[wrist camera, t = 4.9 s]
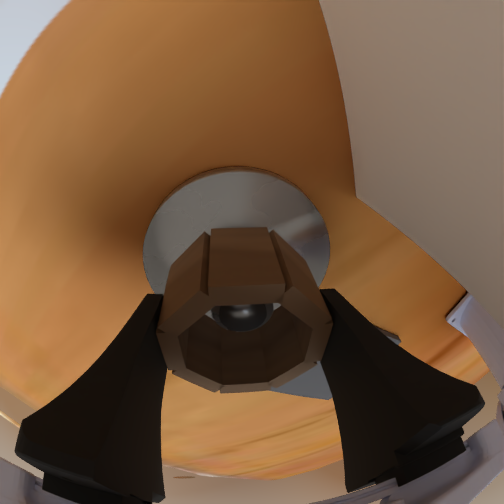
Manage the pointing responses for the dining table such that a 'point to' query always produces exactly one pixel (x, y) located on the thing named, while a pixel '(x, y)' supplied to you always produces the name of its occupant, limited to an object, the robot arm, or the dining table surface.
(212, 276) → the ring
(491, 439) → the robot arm
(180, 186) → the hub
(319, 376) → the mat
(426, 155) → the milk
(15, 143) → the dining table surface
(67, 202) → the dining table surface
